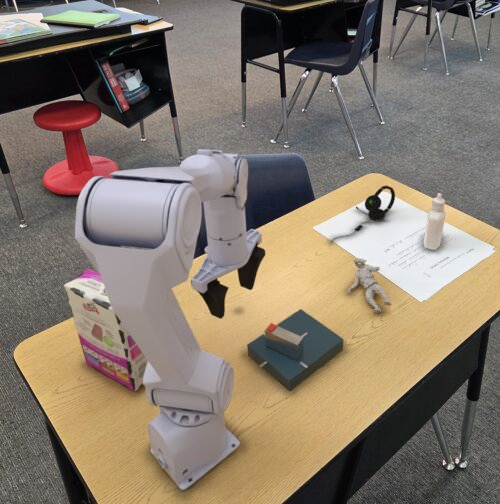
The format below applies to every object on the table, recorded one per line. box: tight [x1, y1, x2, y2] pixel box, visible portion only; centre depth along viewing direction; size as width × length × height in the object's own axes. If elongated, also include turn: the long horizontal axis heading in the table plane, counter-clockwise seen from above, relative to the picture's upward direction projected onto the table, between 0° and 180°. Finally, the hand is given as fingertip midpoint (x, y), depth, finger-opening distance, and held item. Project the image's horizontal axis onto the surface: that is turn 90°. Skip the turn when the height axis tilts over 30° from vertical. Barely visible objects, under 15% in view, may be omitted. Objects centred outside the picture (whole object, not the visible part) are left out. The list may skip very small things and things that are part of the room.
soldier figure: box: [346, 258, 392, 314], centre depth 100 cm, size 8×5×12 cm
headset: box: [330, 185, 396, 243], centre depth 121 cm, size 7×7×20 cm
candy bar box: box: [63, 268, 148, 393], centre depth 82 cm, size 11×5×16 cm, turn 59°
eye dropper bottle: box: [423, 192, 446, 251], centre depth 112 cm, size 4×6×12 cm
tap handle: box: [264, 322, 303, 361], centre depth 85 cm, size 6×2×4 cm, turn 59°
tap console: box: [246, 308, 344, 392], centre depth 87 cm, size 14×10×3 cm
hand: (232, 300), depth 85 cm, fingers open, 7 cm apart
